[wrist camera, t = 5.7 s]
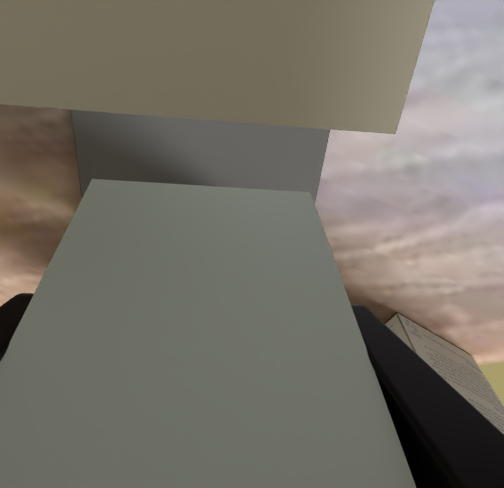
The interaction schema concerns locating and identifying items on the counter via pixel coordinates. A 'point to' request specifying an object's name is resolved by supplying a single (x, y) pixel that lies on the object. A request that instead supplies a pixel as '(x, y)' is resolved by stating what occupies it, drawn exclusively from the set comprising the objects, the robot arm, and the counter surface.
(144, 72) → the domino
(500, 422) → the light bulb box
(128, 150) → the mat
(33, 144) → the counter surface
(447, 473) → the robot arm
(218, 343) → the domino
